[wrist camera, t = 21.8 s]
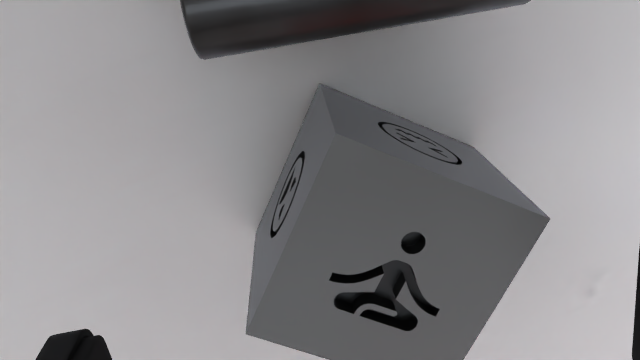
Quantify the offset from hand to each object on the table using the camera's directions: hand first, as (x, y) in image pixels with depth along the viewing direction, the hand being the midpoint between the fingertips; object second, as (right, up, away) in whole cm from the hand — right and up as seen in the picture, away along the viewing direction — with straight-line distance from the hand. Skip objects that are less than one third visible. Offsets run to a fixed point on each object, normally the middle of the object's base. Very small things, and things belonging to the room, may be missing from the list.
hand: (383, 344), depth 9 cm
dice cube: (0, +3, +7) cm, 8 cm away
